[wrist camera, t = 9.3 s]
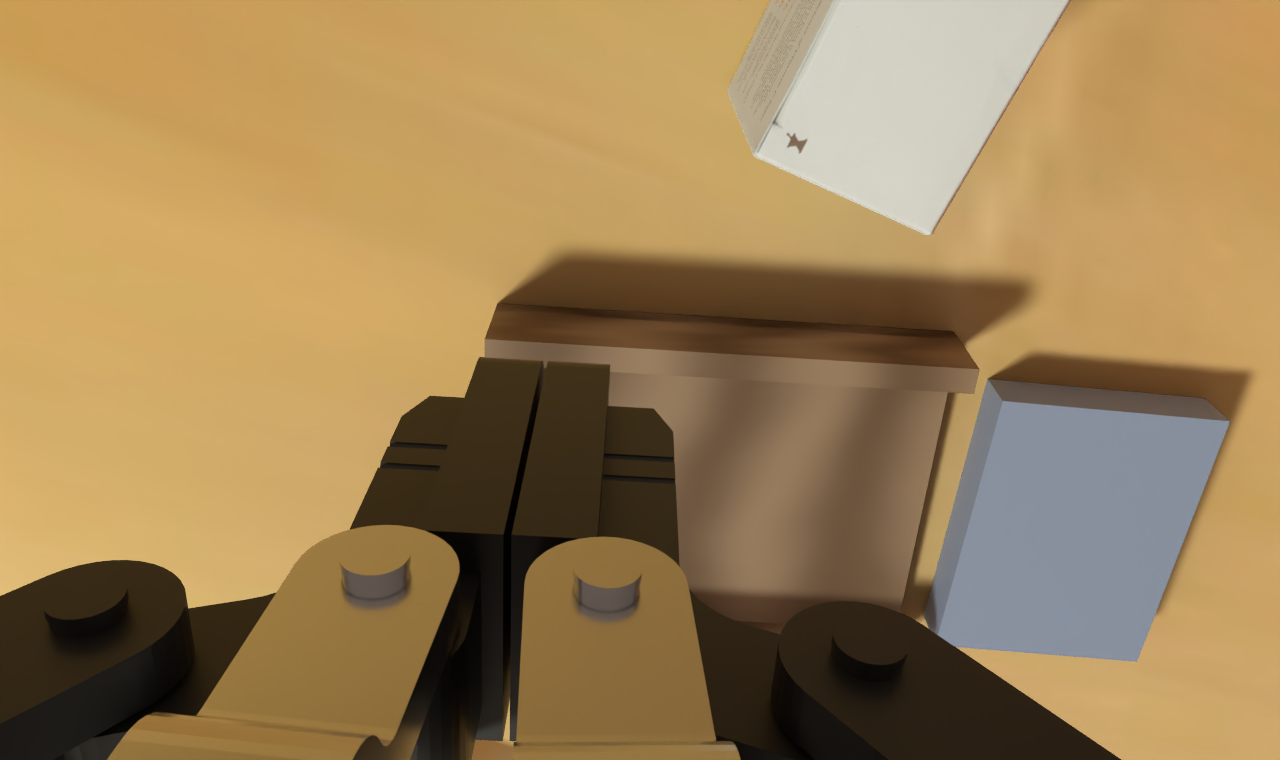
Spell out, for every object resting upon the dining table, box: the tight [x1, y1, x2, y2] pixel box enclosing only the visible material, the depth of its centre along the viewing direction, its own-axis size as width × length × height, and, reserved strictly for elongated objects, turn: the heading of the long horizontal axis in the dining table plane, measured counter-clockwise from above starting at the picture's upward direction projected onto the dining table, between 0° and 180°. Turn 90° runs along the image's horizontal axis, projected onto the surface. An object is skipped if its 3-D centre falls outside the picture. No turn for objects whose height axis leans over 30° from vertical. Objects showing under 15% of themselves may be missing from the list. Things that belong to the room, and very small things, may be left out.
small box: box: [727, 0, 1071, 235], centre depth 31 cm, size 8×6×10 cm
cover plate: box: [924, 379, 1230, 662], centre depth 44 cm, size 9×12×2 cm
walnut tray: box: [485, 304, 980, 634], centre depth 42 cm, size 18×15×4 cm
